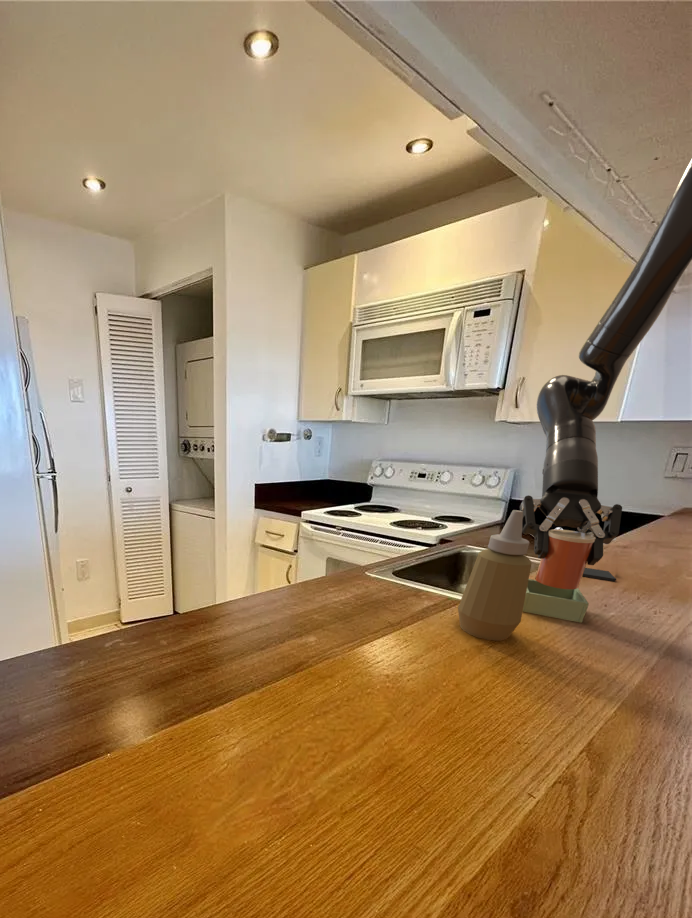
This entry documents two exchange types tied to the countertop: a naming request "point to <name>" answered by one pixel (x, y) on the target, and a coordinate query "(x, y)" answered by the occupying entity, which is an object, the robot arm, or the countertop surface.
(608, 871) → the countertop surface
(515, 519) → the squeeze bottle
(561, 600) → the green shallow open box
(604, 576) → the drying mat
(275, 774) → the countertop surface
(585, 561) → the tumbler
